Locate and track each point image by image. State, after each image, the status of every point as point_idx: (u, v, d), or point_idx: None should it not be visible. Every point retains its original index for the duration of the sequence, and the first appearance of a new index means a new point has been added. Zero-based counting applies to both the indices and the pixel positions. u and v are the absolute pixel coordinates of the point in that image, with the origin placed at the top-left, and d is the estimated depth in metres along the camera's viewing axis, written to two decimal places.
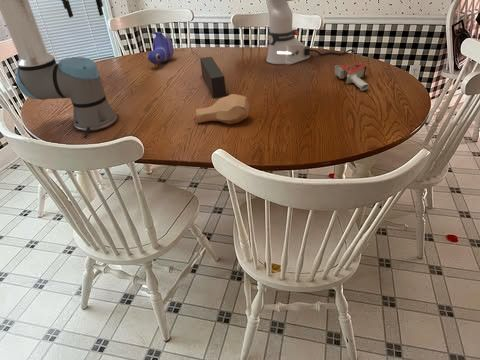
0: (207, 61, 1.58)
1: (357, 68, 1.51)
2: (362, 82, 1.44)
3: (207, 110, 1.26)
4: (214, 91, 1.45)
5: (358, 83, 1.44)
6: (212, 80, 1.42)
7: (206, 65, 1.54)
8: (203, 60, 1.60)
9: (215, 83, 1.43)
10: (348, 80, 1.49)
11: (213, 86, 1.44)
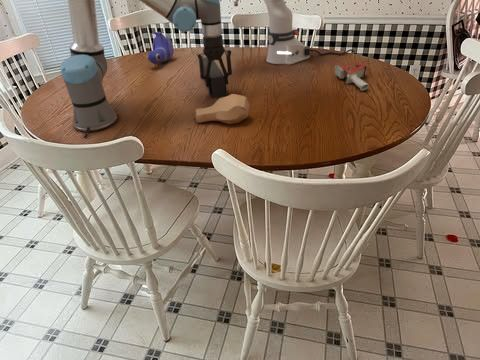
0: None
1: (357, 68, 1.51)
2: (362, 82, 1.44)
3: (207, 110, 1.26)
4: (214, 91, 1.45)
5: (358, 83, 1.44)
6: (212, 80, 1.42)
7: (206, 65, 1.54)
8: (203, 60, 1.60)
9: (215, 83, 1.43)
10: (348, 80, 1.49)
11: (213, 86, 1.44)
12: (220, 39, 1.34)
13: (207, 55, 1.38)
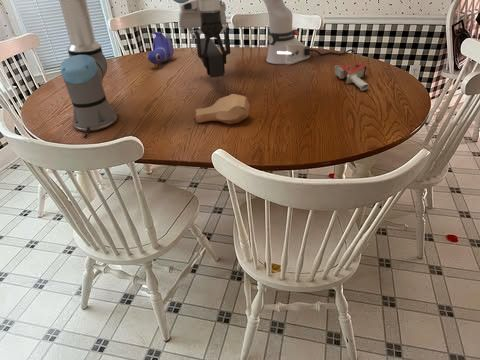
0: None
1: (357, 68, 1.51)
2: (362, 82, 1.44)
3: (207, 110, 1.26)
4: (212, 70, 1.40)
5: (358, 83, 1.44)
6: (210, 59, 1.37)
7: None
8: (201, 40, 1.55)
9: (213, 62, 1.38)
10: (348, 80, 1.49)
11: (211, 65, 1.38)
12: (218, 15, 1.29)
13: (204, 32, 1.33)
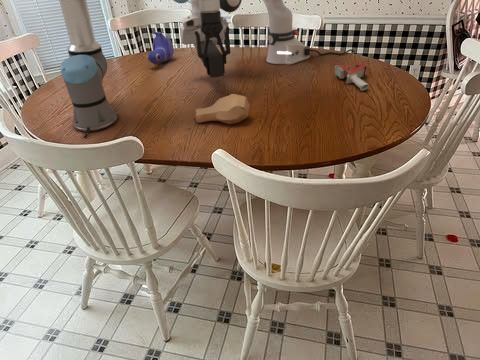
0: None
1: (357, 68, 1.51)
2: (362, 82, 1.44)
3: (207, 110, 1.26)
4: (212, 70, 1.40)
5: (358, 83, 1.44)
6: (210, 59, 1.37)
7: None
8: None
9: (213, 62, 1.38)
10: (348, 80, 1.49)
11: (211, 65, 1.39)
12: (218, 15, 1.29)
13: (204, 32, 1.33)
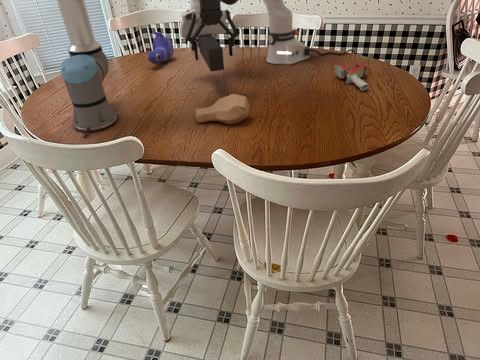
0: (204, 35, 1.52)
1: (357, 68, 1.51)
2: (362, 82, 1.44)
3: (207, 110, 1.26)
4: (212, 64, 1.38)
5: (358, 83, 1.44)
6: (209, 52, 1.36)
7: (203, 39, 1.48)
8: None
9: (213, 55, 1.37)
10: (348, 80, 1.49)
11: (211, 59, 1.37)
12: (218, 1, 1.25)
13: (203, 19, 1.29)
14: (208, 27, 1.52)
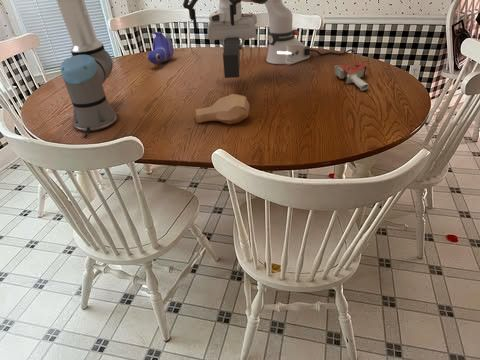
0: (230, 39, 1.44)
1: (357, 68, 1.51)
2: (362, 82, 1.44)
3: (207, 110, 1.26)
4: (226, 70, 1.31)
5: (358, 83, 1.44)
6: (224, 58, 1.28)
7: (227, 42, 1.41)
8: None
9: (227, 61, 1.29)
10: (348, 80, 1.49)
11: (225, 65, 1.30)
12: None
13: None
14: (235, 30, 1.44)
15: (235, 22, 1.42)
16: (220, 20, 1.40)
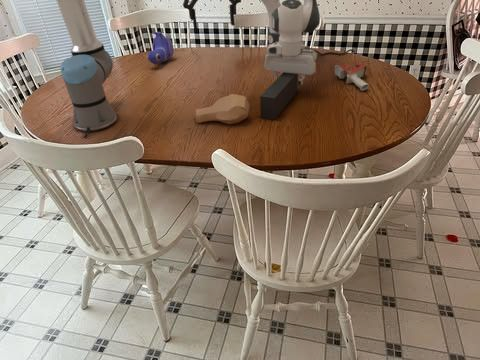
0: (285, 76, 1.39)
1: (357, 68, 1.51)
2: (362, 82, 1.44)
3: (207, 110, 1.26)
4: (262, 110, 1.27)
5: (358, 83, 1.44)
6: (261, 99, 1.25)
7: (278, 80, 1.36)
8: (284, 73, 1.41)
9: (264, 103, 1.25)
10: (348, 80, 1.49)
11: (261, 105, 1.26)
12: None
13: None
14: (292, 65, 1.37)
15: (292, 57, 1.34)
16: (277, 53, 1.35)
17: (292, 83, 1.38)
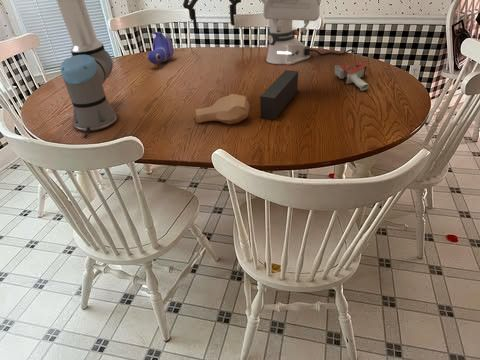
0: (285, 76, 1.39)
1: (357, 68, 1.51)
2: (362, 82, 1.44)
3: (207, 110, 1.26)
4: (262, 110, 1.27)
5: (358, 83, 1.44)
6: (261, 99, 1.25)
7: (278, 80, 1.36)
8: (284, 73, 1.41)
9: (264, 103, 1.25)
10: (348, 80, 1.49)
11: (261, 105, 1.26)
12: None
13: None
14: (294, 10, 1.25)
15: (294, 0, 1.23)
16: None
17: (292, 83, 1.38)
